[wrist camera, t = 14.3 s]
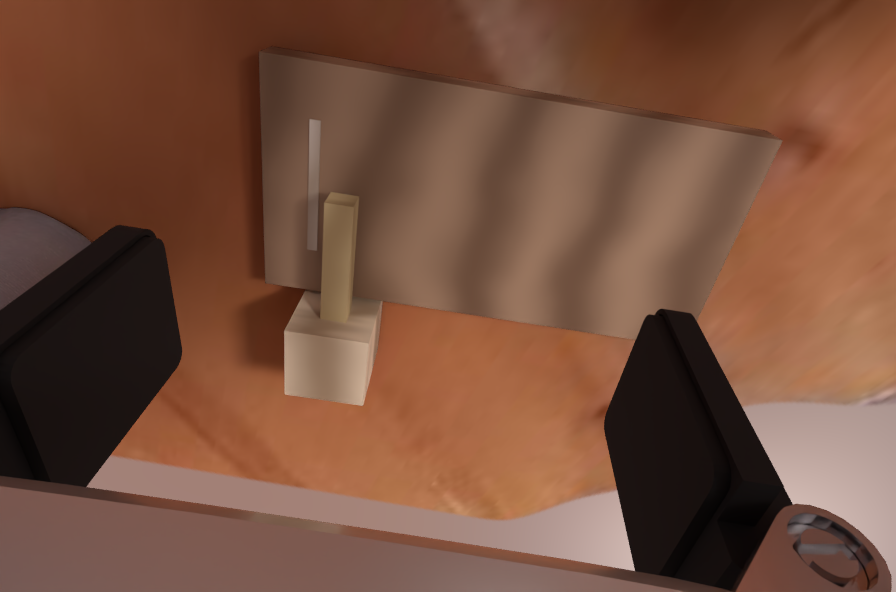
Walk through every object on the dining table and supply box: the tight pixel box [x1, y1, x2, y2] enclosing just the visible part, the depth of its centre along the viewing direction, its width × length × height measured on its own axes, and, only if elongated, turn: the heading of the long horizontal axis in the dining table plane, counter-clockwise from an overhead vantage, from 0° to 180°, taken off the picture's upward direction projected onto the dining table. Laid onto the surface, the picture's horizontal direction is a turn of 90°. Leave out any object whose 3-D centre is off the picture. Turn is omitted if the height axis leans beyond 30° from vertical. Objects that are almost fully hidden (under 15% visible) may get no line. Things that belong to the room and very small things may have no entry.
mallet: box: [284, 192, 383, 406], centre depth 34 cm, size 5×13×6 cm, turn 171°
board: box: [259, 46, 783, 340], centre depth 33 cm, size 28×14×2 cm, turn 81°
